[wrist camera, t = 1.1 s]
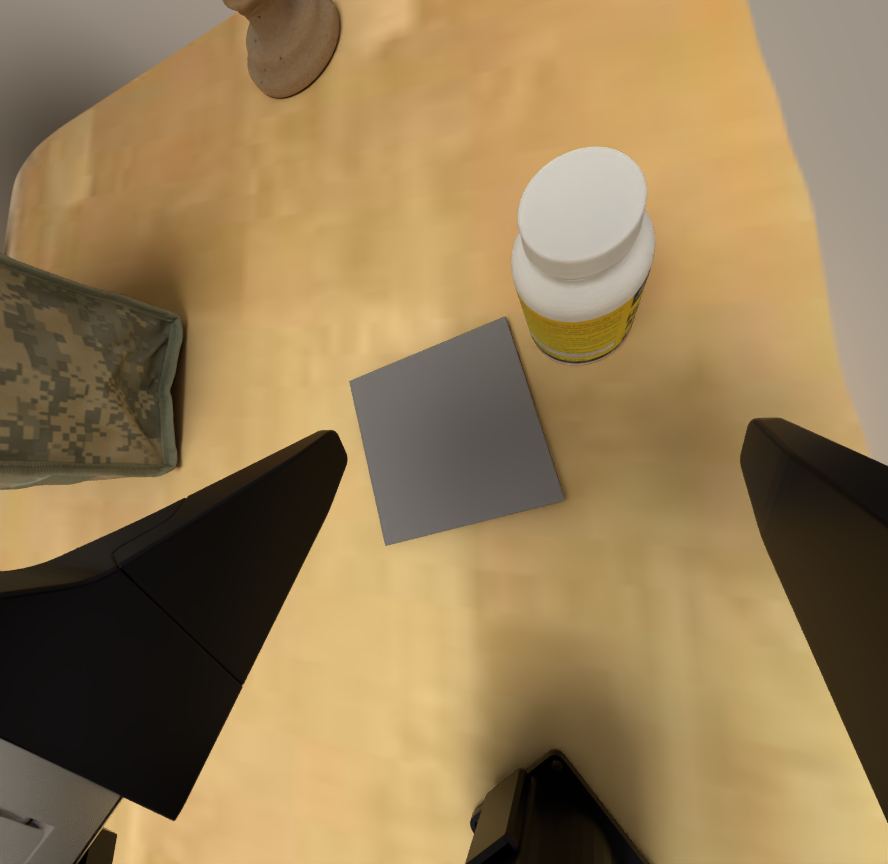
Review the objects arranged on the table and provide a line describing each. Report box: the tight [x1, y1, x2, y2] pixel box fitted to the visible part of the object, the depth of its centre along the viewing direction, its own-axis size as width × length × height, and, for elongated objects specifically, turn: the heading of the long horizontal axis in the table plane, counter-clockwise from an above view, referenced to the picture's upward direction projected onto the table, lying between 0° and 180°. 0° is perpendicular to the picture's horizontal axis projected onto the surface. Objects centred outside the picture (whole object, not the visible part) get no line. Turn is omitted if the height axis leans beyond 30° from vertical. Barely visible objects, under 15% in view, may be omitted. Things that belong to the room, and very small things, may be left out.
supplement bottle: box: [511, 147, 655, 365], centre depth 17 cm, size 5×5×10 cm
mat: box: [349, 317, 565, 546], centre depth 23 cm, size 11×11×1 cm
